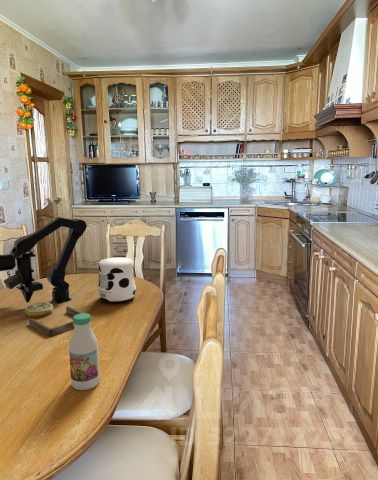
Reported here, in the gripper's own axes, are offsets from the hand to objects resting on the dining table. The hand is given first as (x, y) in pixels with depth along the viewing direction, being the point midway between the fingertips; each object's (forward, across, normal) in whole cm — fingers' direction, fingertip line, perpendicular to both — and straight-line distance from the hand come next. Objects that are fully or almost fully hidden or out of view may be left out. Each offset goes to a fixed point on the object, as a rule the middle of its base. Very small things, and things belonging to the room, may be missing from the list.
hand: (27, 302), depth 159 cm
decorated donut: (+3, +10, 0) cm, 11 cm away
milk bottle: (+2, +70, -17) cm, 72 cm away
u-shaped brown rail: (+2, +26, 0) cm, 26 cm away
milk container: (+2, +22, +32) cm, 39 cm away
